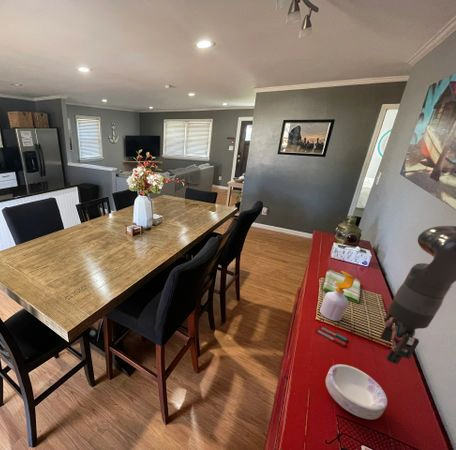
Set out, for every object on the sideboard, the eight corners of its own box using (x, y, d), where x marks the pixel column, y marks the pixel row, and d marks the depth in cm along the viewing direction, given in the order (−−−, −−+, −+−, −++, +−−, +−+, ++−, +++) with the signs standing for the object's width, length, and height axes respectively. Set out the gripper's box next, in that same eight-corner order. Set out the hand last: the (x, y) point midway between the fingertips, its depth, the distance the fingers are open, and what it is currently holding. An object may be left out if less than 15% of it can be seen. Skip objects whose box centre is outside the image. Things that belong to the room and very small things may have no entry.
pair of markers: (344, 344, 102) (345, 342, 102) (344, 346, 101) (344, 345, 101) (318, 330, 109) (319, 328, 108) (317, 332, 108) (317, 330, 107)
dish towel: (359, 284, 143) (362, 279, 142) (359, 304, 126) (362, 298, 125) (326, 273, 153) (327, 268, 152) (321, 290, 136) (323, 285, 135)
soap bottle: (315, 308, 122) (330, 267, 112) (331, 307, 123) (347, 267, 114) (328, 322, 114) (346, 279, 104) (346, 320, 115) (364, 278, 105)
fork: (346, 340, 104) (347, 338, 104) (345, 342, 103) (346, 340, 103) (322, 327, 111) (322, 325, 110) (321, 329, 110) (321, 327, 109)
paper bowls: (315, 374, 89) (321, 359, 86) (361, 383, 86) (369, 368, 83) (334, 419, 75) (343, 403, 72) (390, 431, 73) (401, 415, 70)
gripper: (448, 328, 52) (414, 378, 59) (426, 294, 64) (399, 338, 70) (402, 314, 56) (375, 362, 62) (389, 284, 67) (367, 327, 73)
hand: (388, 349), depth 66 cm, fingers open, 8 cm apart
